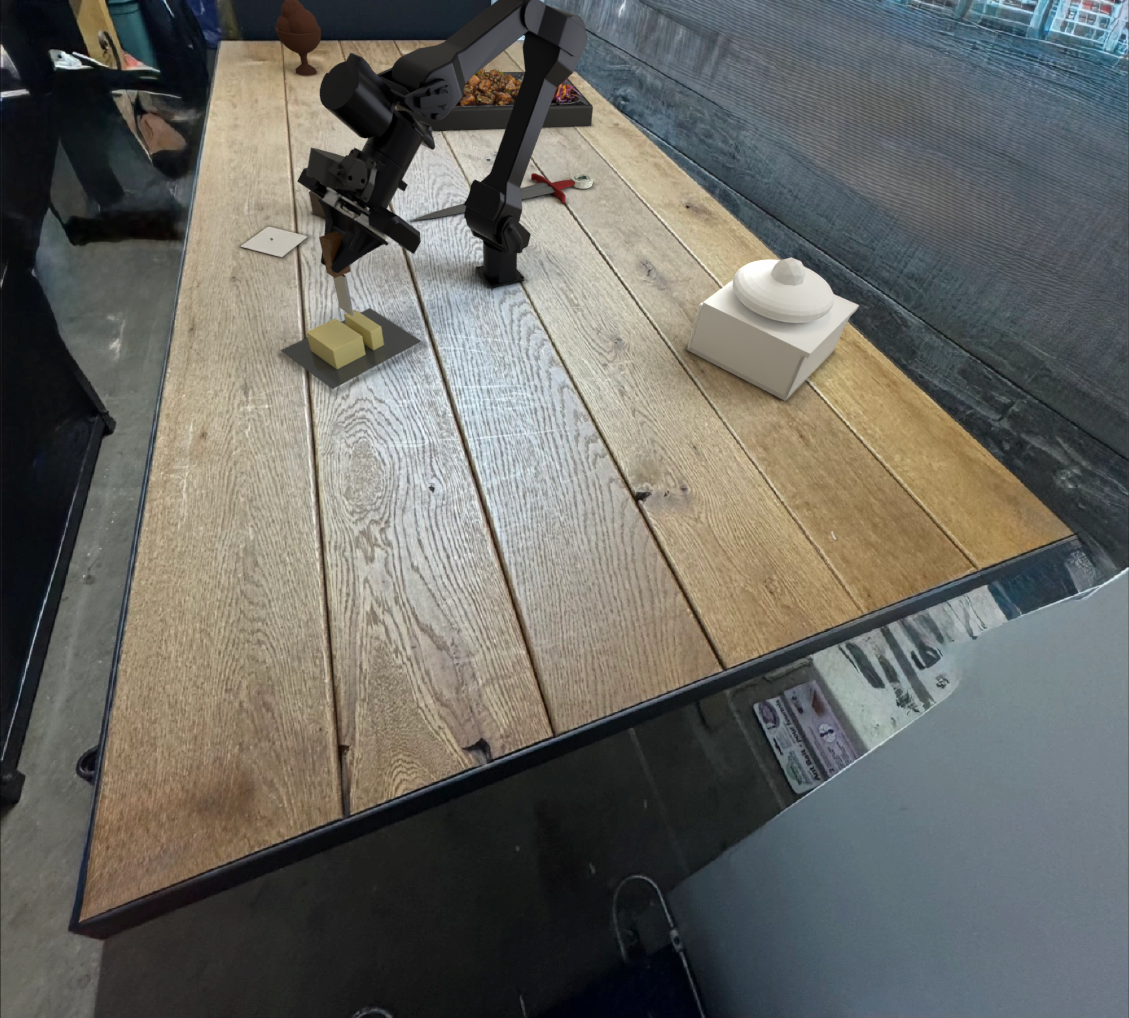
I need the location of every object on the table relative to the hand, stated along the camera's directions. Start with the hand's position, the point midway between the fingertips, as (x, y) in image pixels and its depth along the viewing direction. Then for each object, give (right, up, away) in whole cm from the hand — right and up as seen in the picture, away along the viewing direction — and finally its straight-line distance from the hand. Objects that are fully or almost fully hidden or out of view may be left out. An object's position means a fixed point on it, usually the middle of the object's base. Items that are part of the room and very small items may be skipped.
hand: (328, 268), depth 86 cm
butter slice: (+2, -7, +11) cm, 13 cm away
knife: (0, -4, +6) cm, 7 cm away
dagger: (+20, +30, +45) cm, 58 cm away
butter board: (0, -8, +10) cm, 13 cm away
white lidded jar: (+63, -7, +18) cm, 66 cm away
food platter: (+13, +68, +77) cm, 103 cm away
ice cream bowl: (-36, +82, +83) cm, 122 cm away
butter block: (-2, -9, +8) cm, 12 cm away
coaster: (-19, +15, +28) cm, 37 cm away
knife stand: (-11, +24, +36) cm, 45 cm away
